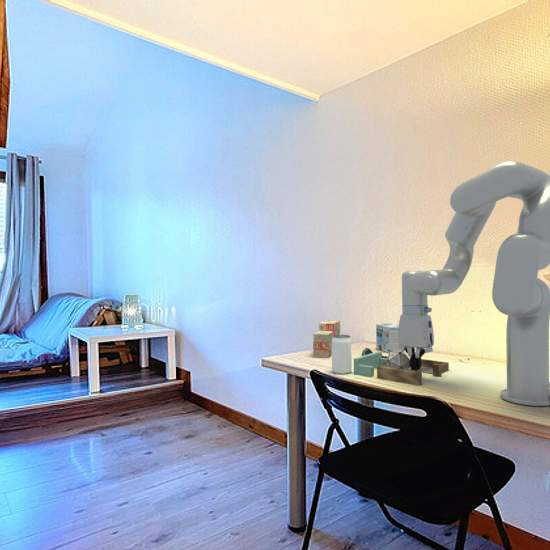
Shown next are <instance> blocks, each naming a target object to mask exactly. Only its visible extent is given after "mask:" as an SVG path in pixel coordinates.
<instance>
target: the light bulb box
mask: <svg viewBox="0 0 550 550" xmlns="http://www.w3.org/2000/svg"><path fill="white" fill-rule="evenodd" d="M398 328H399V324H394V323H388V322H387V323H376V327H375V330H376V345H375V346H376V350H378V349H379V350H378V351H381V350H382V351H381V352H384V351H385V352H384V353H386V352H388V353H387V354H389V351H388V349H390V351H403V350H402V349H399V343H398Z"/></svg>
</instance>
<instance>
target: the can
mask: <svg viewBox="0 0 550 550" xmlns="http://www.w3.org/2000/svg"><path fill="white" fill-rule="evenodd" d="M350 337H351V336H350V335H348V334H340V335H334V336H333V339H332V356H331V371H332V373H334V374H336V373H337V375H347V374H346V373H348V374H351V373H350V372H352V371H353V369H352V367H353V362H352V359H353V358H352V357H353V355H352V339H351V338H350Z"/></svg>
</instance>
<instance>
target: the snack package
mask: <svg viewBox="0 0 550 550" xmlns="http://www.w3.org/2000/svg"><path fill="white" fill-rule="evenodd" d="M371 353H374V352H373V350H371V349H370V348H369V347H365V348H364V349H363V350H362V351H361V355H360V356H364V355H368V354H371ZM387 357H388V355H387V356H386V355H382V358H387Z"/></svg>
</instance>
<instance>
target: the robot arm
mask: <svg viewBox="0 0 550 550" xmlns="http://www.w3.org/2000/svg"><path fill="white" fill-rule="evenodd" d="M508 197H509V198H511V199H518V200H520V201H522V203H523V204H522V209H521V210H520V214H519V218H518V228H517V232H516V233H514V234H511V235H509V236H507V237H506V238H505V239H503V241H502V243H501V244H500V246H499V248H498V252H497V255H496V262H495V269H494V276H493V282H492V288H491V289H492V290H491V297H492V303H493V305H494V306H495V308H496V309H497V310H498V311H499V312H500V313H501V314H503V315H506V316H507V319H506V320H507V321H506V329H505V330H506V331H505V332H506V337H505V339H506V341H505V342H506V346H505V347H506V348H505V349H506V356H505V357H506V388H505V389H502V390H501V391H500V394H499V396H500V397H501V398H502V400H505V401H507V402H509V403H513V404H517V405H522V406H532V407H547V406H548V407H550V406H549V405H550V341H549V340H550V288H549V286H548V285H547V283H546V282H545V281H543V280H542V279H540V278H538V274H539V271H541V270H542V271H543V270H544V269H546V268H547V267H549V266H550V174H548V173H547V172H546V171H544V170H541V169H539V168H538V167H537V168H536V167H534V166H532V165H528V164H525V163H522V162H519V161H515V160H514V161H513V160H510V161H504V162H500V163H498V164H496V165H494V166H493V167H491V168H489V169H487V170H484V171H483V172H481V173H479V174H476V175H475V176H473V177H471V178H469V179H467V180H465V181H463V182H462V183H459V185H457V187H455V188H454V190H453V191H452V192H451V194H450V198H449V204H450V207H451V209H452V210H453V211H454V212H455V213H454V215H453V217H452V218H451V221H450V223H449V225H448V226H447V229H446V231H445V233H444V234H445V235H444V236H445V239H446V241H447V243H448V245H449V254H448V258H447V259H446V262H445V264H444V266H443V267H442V269H431V270H430V269H429V270H426V271H423V270H407V271H404V272H403V273H401V274H402V275H401V308H402V309H401V311H402V313H401V314H400V316H399V321H398V325H399V328H398V343H399V349H402V350H404V352H405V354H406V353H407V354H406V355H407V356H408V358H409V359H410V366H411V370H415V371H417V370H419V369H420V368H421V359H422V357H423V355H425V354H428V353H432V352H433V350H434V349H433V346H434V345H435V336H434V326H433V325H434V324H433V320H432V316H431V315H430V314H429V313H432V311H433V309H432V307H429V304H428V296H432V297H433V296H442V295H451V294H453V293H455V292H456V291H457V290H458V289H460V287H461V286H462V284H463V282H464V281H465V279H466V277H467V275H468V274H469V271H470V269H471V266H472V263H473V262H472V261H473V257H474V249H475V245H476V242H477V241H478V239H479V236H480V235H481V233H482V231H483V229H484V228H485V225H486V224H487V222H488V220H489V219H490V216H491V214H492V213H493V211H494V208H495V206H496V204H497V202H498V201H500V200H503V199H505V198H508Z"/></svg>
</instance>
